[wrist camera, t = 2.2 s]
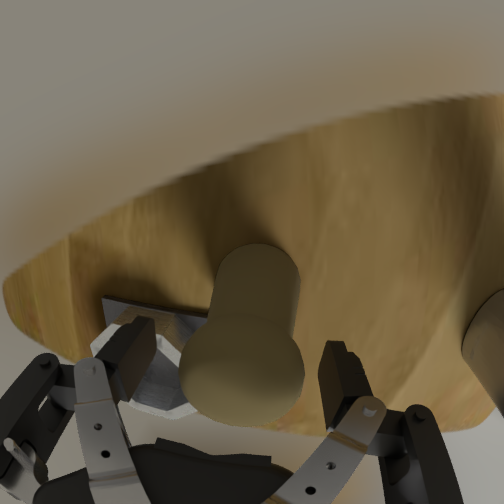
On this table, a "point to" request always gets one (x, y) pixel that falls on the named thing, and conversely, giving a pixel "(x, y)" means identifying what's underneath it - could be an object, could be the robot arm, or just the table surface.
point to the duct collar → (167, 355)
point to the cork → (247, 341)
